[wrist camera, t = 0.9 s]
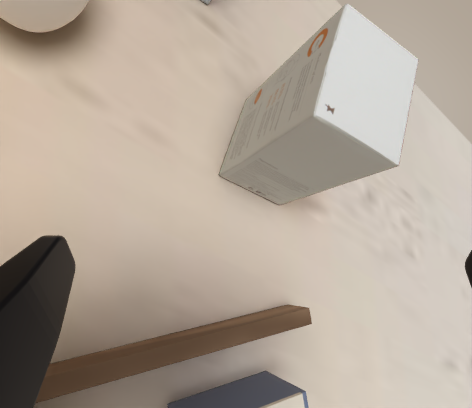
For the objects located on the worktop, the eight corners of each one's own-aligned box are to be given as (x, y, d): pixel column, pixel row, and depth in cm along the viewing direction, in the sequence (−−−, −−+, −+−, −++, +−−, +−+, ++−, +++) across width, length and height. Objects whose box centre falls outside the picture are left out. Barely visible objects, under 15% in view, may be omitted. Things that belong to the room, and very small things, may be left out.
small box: (279, 207, 32) (401, 169, 20) (216, 176, 30) (311, 114, 18) (302, 130, 34) (422, 57, 23) (245, 97, 32) (345, -2, 20)
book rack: (303, 398, 29) (355, 426, 24) (-19, 525, 20) (-52, 618, 15) (287, 304, 30) (334, 311, 25) (-29, 383, 21) (-62, 422, 15)
